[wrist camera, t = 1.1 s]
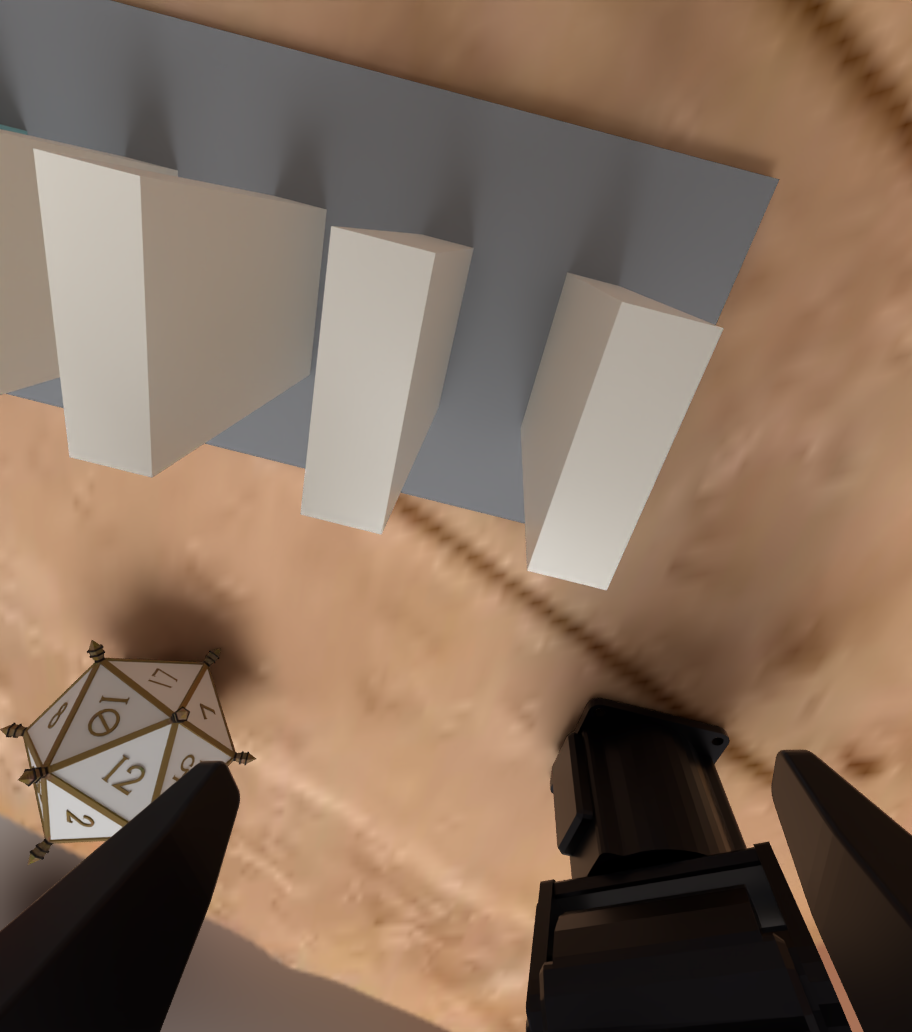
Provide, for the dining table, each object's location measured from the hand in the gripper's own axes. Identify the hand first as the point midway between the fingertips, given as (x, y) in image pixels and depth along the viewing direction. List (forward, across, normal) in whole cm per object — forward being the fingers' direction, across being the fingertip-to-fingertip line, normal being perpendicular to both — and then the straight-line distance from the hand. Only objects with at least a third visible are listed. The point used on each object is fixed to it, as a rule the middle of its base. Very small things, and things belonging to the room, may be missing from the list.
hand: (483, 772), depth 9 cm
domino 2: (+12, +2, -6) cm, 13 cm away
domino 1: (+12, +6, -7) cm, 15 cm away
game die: (+13, +16, +9) cm, 23 cm away
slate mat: (+12, +6, -7) cm, 16 cm away
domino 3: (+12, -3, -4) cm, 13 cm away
